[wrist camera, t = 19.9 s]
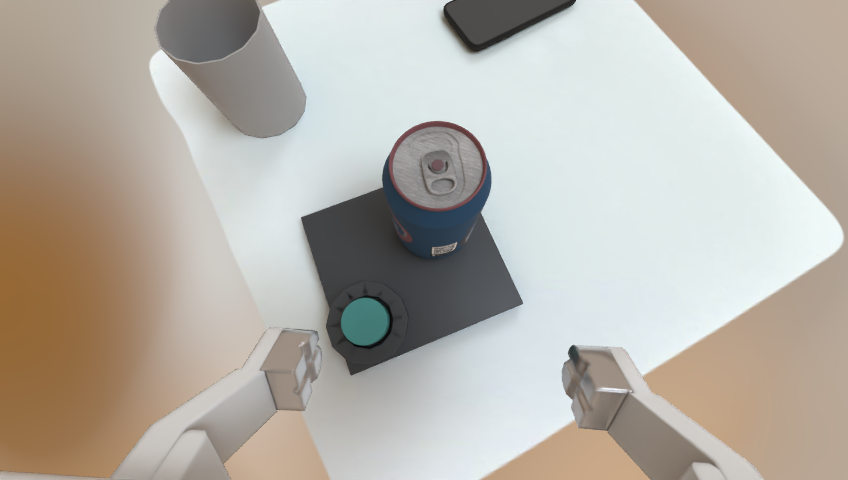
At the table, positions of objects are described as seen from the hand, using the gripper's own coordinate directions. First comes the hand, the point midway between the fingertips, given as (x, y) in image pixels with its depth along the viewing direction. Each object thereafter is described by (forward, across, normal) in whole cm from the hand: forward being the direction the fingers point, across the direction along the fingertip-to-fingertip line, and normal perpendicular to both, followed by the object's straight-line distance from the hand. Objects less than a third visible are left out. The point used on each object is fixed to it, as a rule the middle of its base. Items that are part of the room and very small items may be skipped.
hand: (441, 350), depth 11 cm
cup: (+30, +19, -3) cm, 36 cm away
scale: (+18, +3, +9) cm, 20 cm away
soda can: (+20, 0, +6) cm, 21 cm away
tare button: (+12, +5, +11) cm, 17 cm away
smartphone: (+40, -7, -13) cm, 43 cm away
